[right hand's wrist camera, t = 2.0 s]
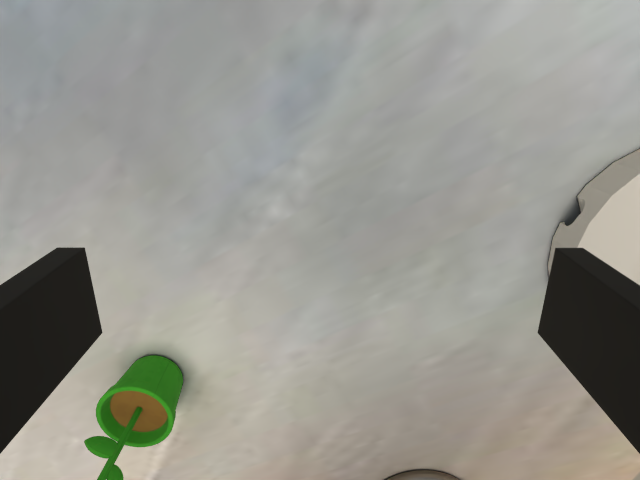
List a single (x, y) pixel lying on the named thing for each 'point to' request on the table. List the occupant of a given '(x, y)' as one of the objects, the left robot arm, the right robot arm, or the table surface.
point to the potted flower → (136, 410)
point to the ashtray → (608, 218)
